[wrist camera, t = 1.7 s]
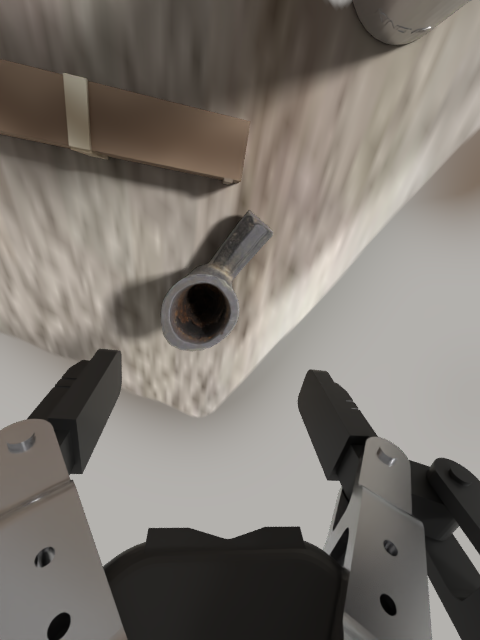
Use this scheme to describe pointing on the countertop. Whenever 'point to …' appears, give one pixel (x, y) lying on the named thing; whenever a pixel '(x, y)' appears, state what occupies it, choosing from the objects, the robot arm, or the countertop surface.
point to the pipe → (212, 291)
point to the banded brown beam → (119, 123)
